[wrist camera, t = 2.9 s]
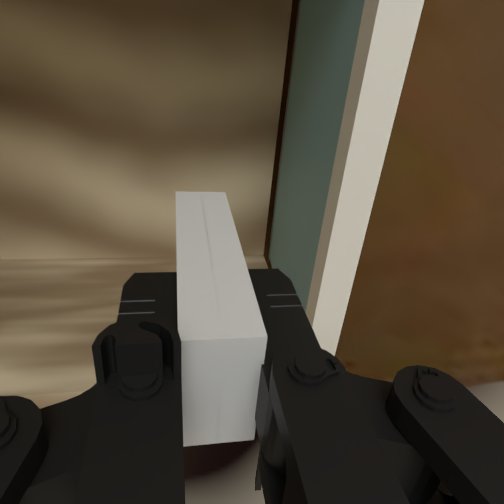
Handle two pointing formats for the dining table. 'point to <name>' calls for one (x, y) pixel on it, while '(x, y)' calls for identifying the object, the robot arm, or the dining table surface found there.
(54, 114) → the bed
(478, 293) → the dining table surface
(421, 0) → the light blue flat panel
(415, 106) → the dining table surface
